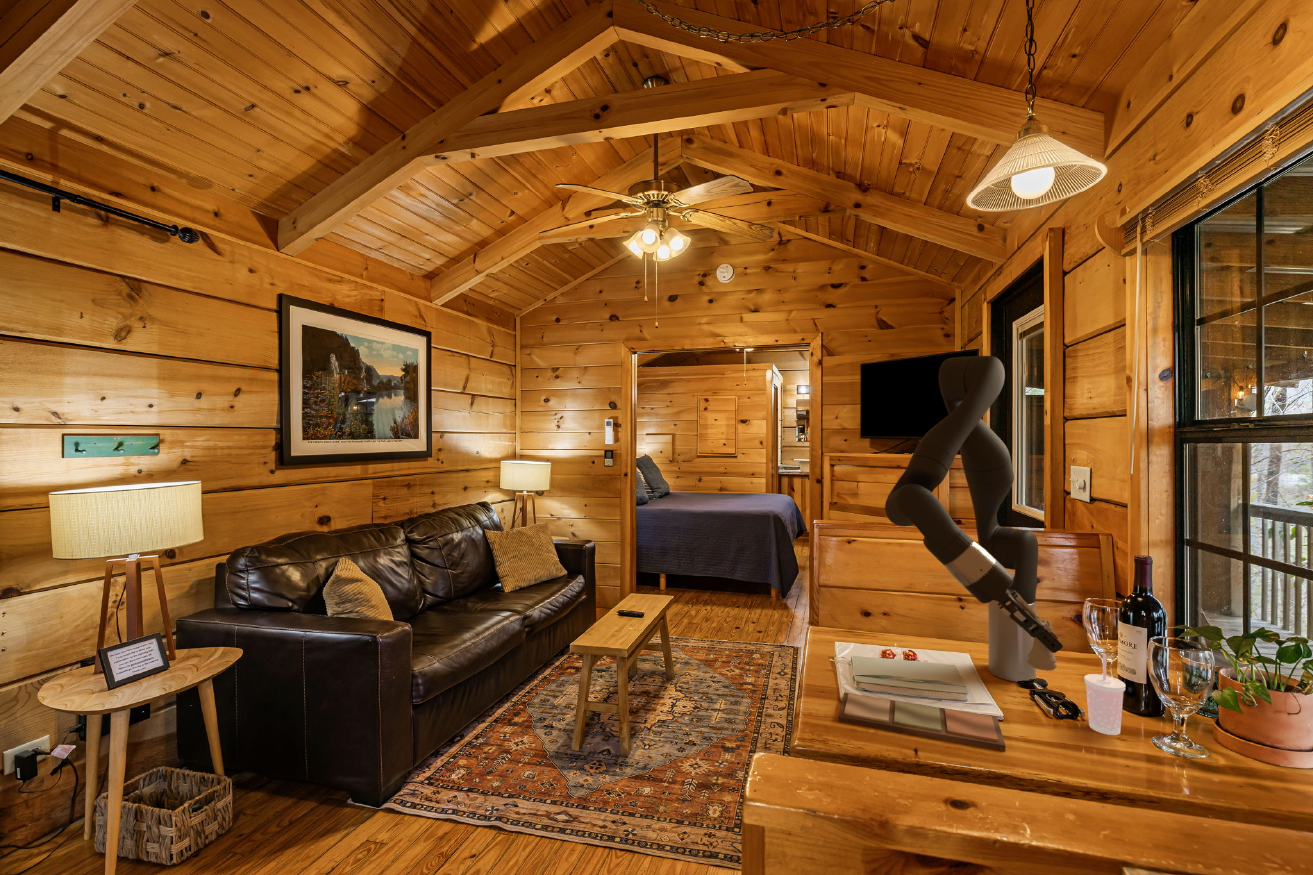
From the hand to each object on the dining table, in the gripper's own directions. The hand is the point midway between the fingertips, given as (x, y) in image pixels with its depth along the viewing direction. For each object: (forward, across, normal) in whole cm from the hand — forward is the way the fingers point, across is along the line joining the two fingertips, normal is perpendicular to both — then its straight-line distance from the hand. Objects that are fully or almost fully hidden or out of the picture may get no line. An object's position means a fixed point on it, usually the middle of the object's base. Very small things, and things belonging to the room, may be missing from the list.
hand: (1055, 645), depth 103 cm
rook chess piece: (+2, 0, +4) cm, 5 cm away
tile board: (-3, 0, +28) cm, 29 cm away
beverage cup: (+20, +10, +6) cm, 23 cm away
